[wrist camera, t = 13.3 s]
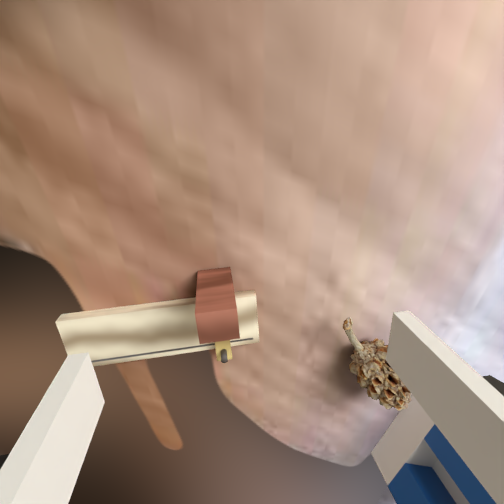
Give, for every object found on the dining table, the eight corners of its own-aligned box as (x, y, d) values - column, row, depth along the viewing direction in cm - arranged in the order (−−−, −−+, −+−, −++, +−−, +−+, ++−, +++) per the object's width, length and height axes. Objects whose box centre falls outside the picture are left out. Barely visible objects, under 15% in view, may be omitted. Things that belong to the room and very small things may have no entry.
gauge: (197, 270, 47) (194, 313, 36) (230, 267, 47) (236, 308, 36) (209, 346, 52) (209, 404, 41) (237, 342, 52) (246, 398, 41)
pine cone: (408, 358, 60) (444, 399, 51) (369, 387, 61) (397, 431, 52) (347, 289, 52) (376, 323, 43) (304, 324, 53) (324, 364, 44)
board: (61, 314, 46) (54, 322, 45) (254, 289, 49) (256, 296, 48) (77, 360, 50) (72, 369, 48) (257, 335, 53) (259, 342, 51)
